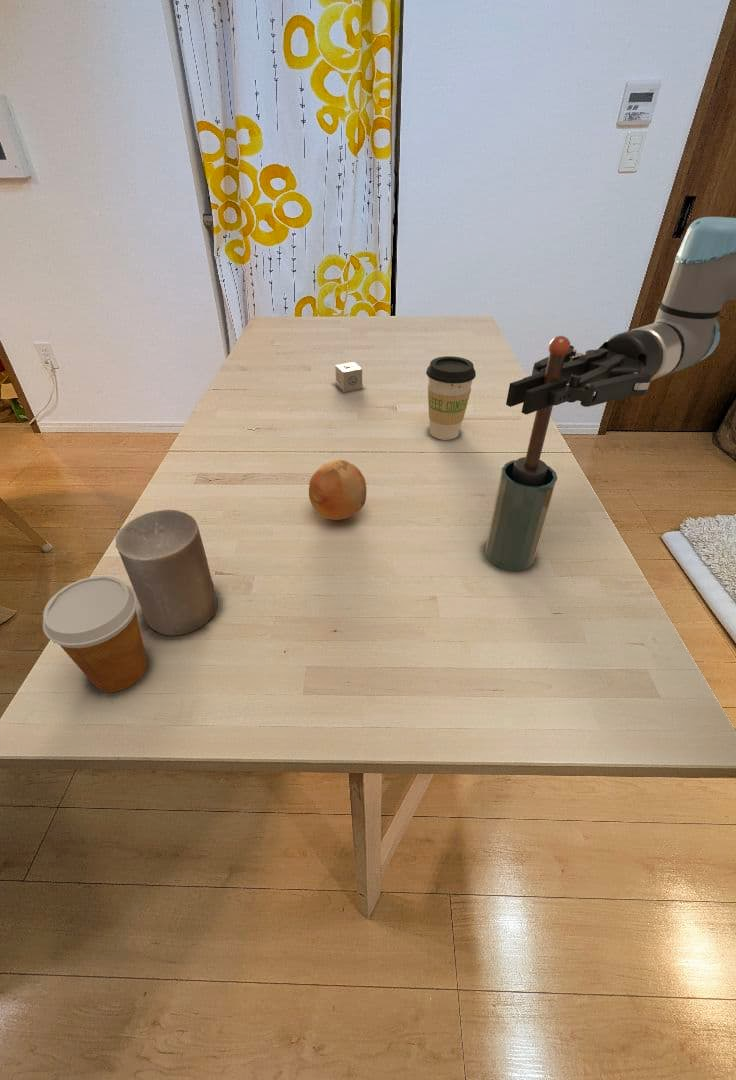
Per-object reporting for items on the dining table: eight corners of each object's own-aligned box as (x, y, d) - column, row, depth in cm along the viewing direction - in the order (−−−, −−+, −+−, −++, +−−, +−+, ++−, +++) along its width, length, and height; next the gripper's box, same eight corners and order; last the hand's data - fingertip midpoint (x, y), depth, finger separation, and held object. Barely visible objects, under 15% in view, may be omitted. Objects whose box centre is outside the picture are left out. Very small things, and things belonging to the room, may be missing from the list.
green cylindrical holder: (543, 558, 80) (568, 475, 71) (512, 578, 77) (533, 494, 67) (506, 534, 85) (525, 453, 75) (475, 552, 81) (490, 470, 72)
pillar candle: (220, 582, 76) (200, 497, 66) (215, 633, 68) (191, 546, 59) (151, 588, 75) (120, 503, 65) (138, 641, 67) (101, 554, 58)
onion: (320, 494, 93) (317, 444, 87) (373, 502, 91) (374, 452, 85) (301, 525, 86) (296, 474, 80) (358, 535, 84) (358, 484, 78)
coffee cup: (422, 443, 108) (428, 373, 98) (420, 421, 115) (425, 354, 106) (469, 444, 108) (480, 374, 98) (464, 422, 115) (473, 355, 106)
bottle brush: (539, 525, 75) (589, 341, 58) (510, 528, 74) (553, 344, 57) (525, 507, 78) (569, 329, 61) (498, 510, 77) (535, 331, 61)
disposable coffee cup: (125, 629, 69) (96, 562, 61) (176, 659, 65) (152, 592, 57) (60, 681, 62) (18, 614, 55) (113, 718, 59) (75, 651, 51)
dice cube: (336, 384, 131) (335, 365, 128) (354, 381, 132) (353, 362, 129) (343, 392, 127) (343, 372, 124) (362, 388, 129) (362, 369, 126)
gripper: (676, 402, 69) (561, 453, 59) (583, 367, 78) (470, 405, 68) (700, 346, 64) (578, 390, 54) (598, 315, 74) (478, 348, 63)
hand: (518, 398), depth 61 cm, fingers closed on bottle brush, 2 cm apart
